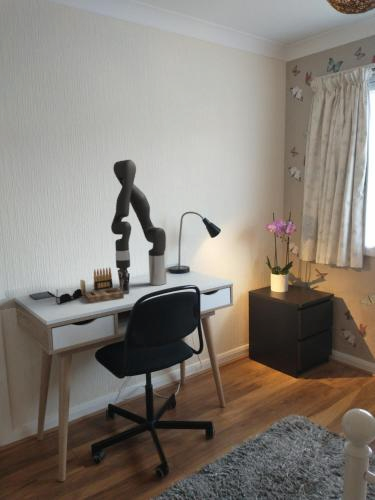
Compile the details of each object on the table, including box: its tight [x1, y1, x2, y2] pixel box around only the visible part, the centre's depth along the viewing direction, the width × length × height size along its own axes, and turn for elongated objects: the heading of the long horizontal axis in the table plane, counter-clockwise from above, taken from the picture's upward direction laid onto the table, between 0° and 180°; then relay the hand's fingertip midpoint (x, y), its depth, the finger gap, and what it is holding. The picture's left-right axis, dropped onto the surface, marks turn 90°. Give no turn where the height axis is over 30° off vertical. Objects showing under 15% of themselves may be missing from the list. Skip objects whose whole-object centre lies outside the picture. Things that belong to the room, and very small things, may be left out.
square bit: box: [118, 277, 130, 295], centre depth 219 cm, size 4×4×8 cm
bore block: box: [83, 287, 125, 304], centre depth 210 cm, size 18×12×3 cm, turn 117°
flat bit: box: [79, 279, 87, 297], centre depth 216 cm, size 2×4×8 cm, turn 27°
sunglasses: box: [47, 288, 84, 306], centre depth 210 cm, size 17×14×5 cm
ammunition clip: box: [93, 267, 114, 291], centre depth 229 cm, size 11×2×12 cm, turn 122°
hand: (124, 289), depth 219 cm, fingers closed on square bit, 4 cm apart
